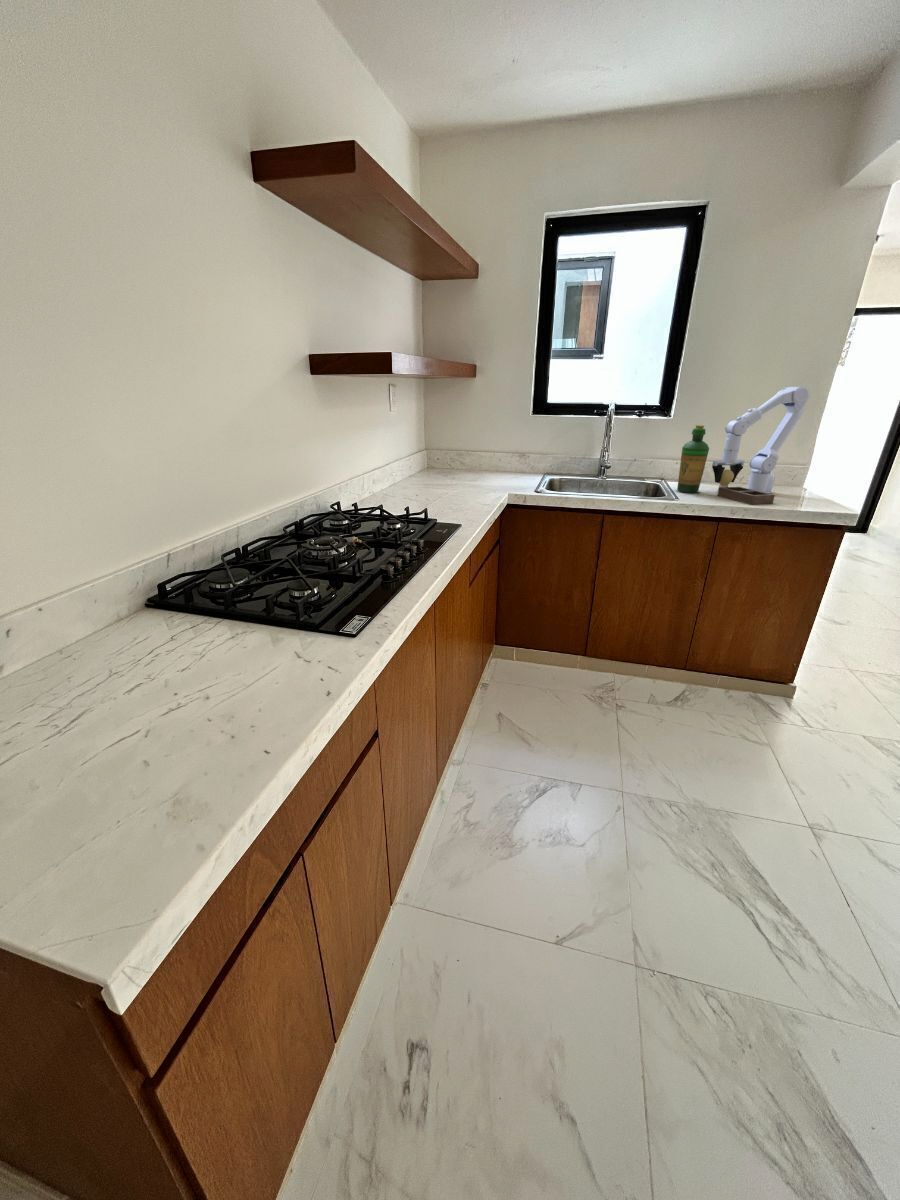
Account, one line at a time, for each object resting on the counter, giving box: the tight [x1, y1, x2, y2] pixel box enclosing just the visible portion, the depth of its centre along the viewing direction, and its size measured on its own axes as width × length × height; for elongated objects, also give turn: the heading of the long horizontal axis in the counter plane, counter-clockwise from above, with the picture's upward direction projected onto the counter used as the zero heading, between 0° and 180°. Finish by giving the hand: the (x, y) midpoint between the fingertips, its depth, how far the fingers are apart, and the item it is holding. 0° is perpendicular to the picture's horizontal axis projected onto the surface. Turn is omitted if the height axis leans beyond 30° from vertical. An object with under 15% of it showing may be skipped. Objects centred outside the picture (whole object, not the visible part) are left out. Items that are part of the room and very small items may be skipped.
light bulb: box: [717, 468, 734, 492], centre depth 219 cm, size 6×6×10 cm
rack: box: [717, 486, 776, 506], centre depth 207 cm, size 10×19×4 cm, turn 14°
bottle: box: [676, 424, 710, 494], centre depth 217 cm, size 11×11×28 cm
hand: (724, 482), depth 219 cm, fingers open, 7 cm apart
